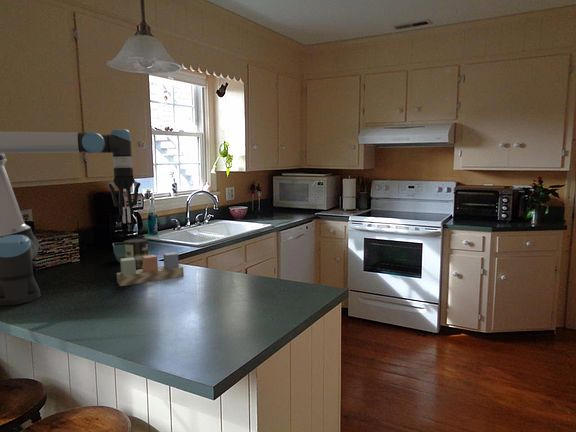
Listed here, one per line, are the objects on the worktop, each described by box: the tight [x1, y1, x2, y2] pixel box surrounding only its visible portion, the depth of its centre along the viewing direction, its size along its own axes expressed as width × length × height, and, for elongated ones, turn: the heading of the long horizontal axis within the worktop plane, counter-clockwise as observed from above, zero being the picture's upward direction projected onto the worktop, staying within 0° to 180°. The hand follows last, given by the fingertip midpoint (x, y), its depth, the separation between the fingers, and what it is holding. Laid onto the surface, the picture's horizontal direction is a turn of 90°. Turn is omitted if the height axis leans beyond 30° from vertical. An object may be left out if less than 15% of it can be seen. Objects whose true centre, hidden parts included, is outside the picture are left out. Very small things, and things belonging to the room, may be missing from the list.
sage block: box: [119, 257, 136, 276], centre depth 183 cm, size 5×5×7 cm
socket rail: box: [116, 264, 185, 287], centre depth 188 cm, size 26×7×4 cm, turn 121°
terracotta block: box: [142, 254, 159, 272], centre depth 187 cm, size 5×5×7 cm
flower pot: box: [112, 241, 126, 263], centre depth 223 cm, size 9×9×9 cm
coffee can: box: [123, 238, 149, 270], centre depth 204 cm, size 10×10×14 cm
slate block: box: [162, 251, 180, 269], centre depth 192 cm, size 5×5×7 cm
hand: (126, 222), depth 187 cm, fingers closed
